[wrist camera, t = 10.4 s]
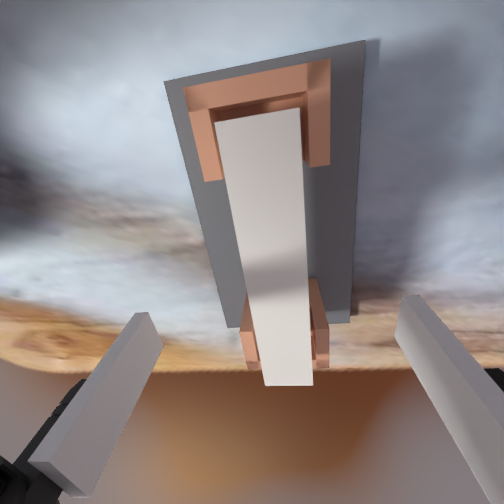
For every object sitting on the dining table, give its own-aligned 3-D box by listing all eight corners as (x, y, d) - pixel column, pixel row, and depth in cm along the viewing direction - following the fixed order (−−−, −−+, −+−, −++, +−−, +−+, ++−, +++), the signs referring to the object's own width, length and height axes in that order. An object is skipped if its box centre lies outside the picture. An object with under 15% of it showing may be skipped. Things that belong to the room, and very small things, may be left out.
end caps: (229, 321, 34) (214, 381, 26) (169, 83, 21) (103, 57, 13) (347, 316, 31) (371, 381, 23) (360, 44, 18) (423, -17, 11)
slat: (267, 332, 26) (265, 385, 20) (234, 123, 17) (214, 122, 11) (305, 330, 25) (312, 385, 20) (291, 113, 16) (299, 107, 11)
